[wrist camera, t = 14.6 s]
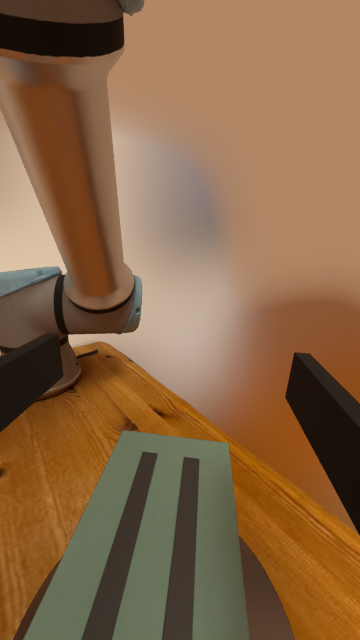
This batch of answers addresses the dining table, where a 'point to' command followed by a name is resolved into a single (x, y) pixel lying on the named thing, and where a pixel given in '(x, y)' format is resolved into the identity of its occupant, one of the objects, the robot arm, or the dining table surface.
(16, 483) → the dining table surface
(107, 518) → the toaster
